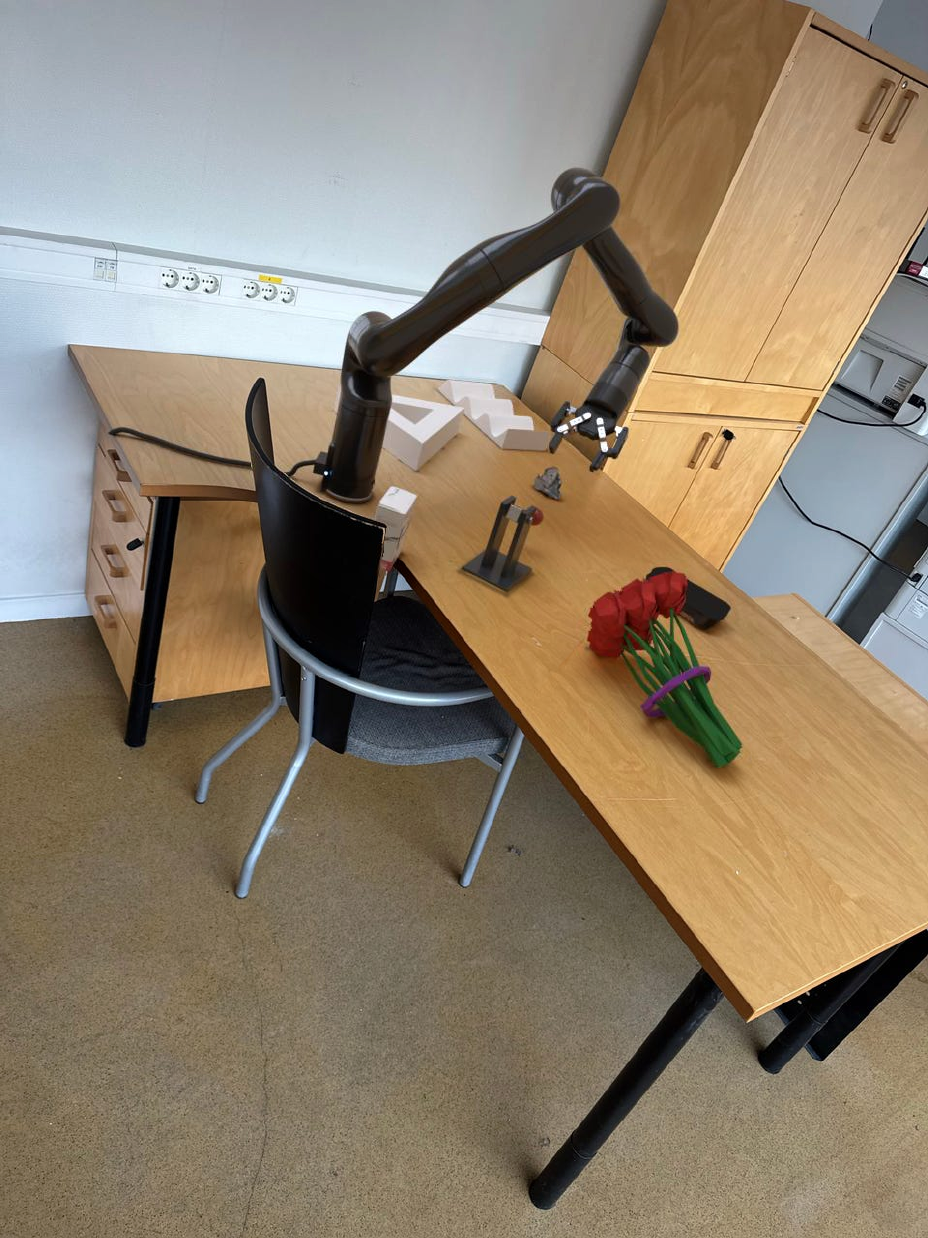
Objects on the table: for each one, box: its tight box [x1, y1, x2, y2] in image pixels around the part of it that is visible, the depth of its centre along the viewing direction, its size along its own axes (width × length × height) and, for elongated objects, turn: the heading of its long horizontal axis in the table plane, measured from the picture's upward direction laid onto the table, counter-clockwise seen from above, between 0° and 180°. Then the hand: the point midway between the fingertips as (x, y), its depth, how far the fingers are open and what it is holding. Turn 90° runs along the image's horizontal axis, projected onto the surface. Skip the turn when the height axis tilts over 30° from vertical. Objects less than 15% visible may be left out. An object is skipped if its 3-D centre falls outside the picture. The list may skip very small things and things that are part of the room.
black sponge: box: [645, 566, 732, 630], centre depth 157 cm, size 16×8×4 cm, turn 46°
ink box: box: [373, 485, 418, 573], centre depth 140 cm, size 9×5×12 cm, turn 168°
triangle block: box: [333, 384, 465, 472], centre depth 192 cm, size 30×26×6 cm
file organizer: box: [437, 379, 553, 452], centre depth 215 cm, size 13×35×5 cm, turn 28°
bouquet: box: [586, 570, 743, 769], centre depth 125 cm, size 20×16×30 cm
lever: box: [506, 504, 545, 527], centre depth 149 cm, size 15×3×3 cm, turn 151°
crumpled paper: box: [533, 466, 563, 500], centre depth 184 cm, size 4×8×7 cm, turn 30°
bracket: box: [461, 495, 538, 593], centre depth 146 cm, size 11×9×14 cm
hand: (571, 460), depth 160 cm, fingers open, 8 cm apart
